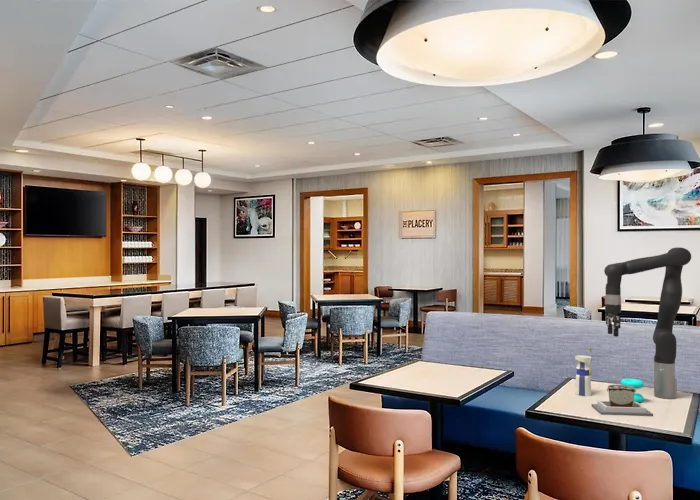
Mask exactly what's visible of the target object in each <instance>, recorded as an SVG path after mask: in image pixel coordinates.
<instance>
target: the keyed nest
mask: <svg viewBox="0 0 700 500" xmlns="http://www.w3.org/2000/svg"><path fill="white" fill-rule="evenodd" d="M590 406H591V407H592V408H593V409H594V410H595V411H596V412H598V413H599V414H600V415H604V416H605V415H606V416H633V417H635V416H637V417H638V416H639V417H654V413H652V412H651V411H650V410H649V409H647V408H646V407H645V406H644V405H642V404H641V403H638V402H634V403H633V407H610V401H609V400H597V403H591V405H590Z"/></svg>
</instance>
